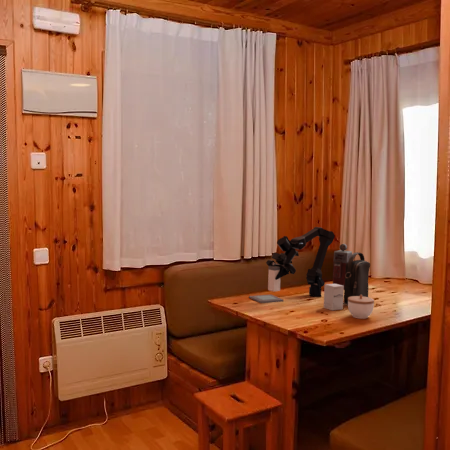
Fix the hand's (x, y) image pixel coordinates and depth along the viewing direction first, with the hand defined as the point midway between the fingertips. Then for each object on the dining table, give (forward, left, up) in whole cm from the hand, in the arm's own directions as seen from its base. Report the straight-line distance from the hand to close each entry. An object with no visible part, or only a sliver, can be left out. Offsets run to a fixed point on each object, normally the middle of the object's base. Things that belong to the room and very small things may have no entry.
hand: (272, 278), depth 284 cm
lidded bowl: (-44, +21, -14) cm, 51 cm away
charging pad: (+4, -7, -13) cm, 16 cm away
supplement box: (-32, +6, -14) cm, 36 cm away
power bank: (-1, -1, -7) cm, 7 cm away
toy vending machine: (-41, -51, -14) cm, 67 cm away
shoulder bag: (-46, -12, -14) cm, 50 cm away
